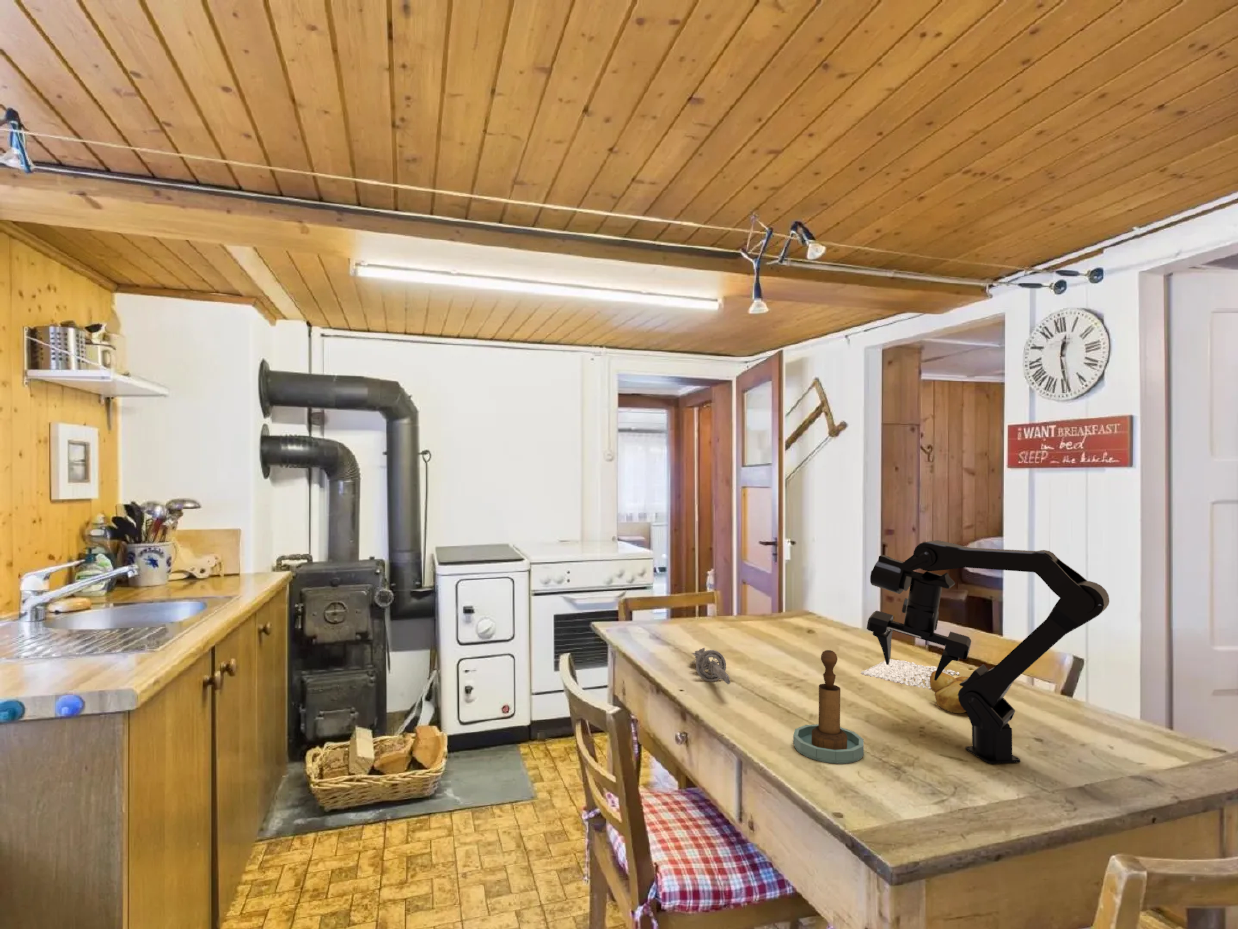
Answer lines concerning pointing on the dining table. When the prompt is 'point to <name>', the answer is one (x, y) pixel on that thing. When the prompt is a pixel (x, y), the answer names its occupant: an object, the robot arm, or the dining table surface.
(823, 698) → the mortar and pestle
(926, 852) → the dining table surface
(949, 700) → the bread roll
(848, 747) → the glazed dish
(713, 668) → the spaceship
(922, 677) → the salt crystals
